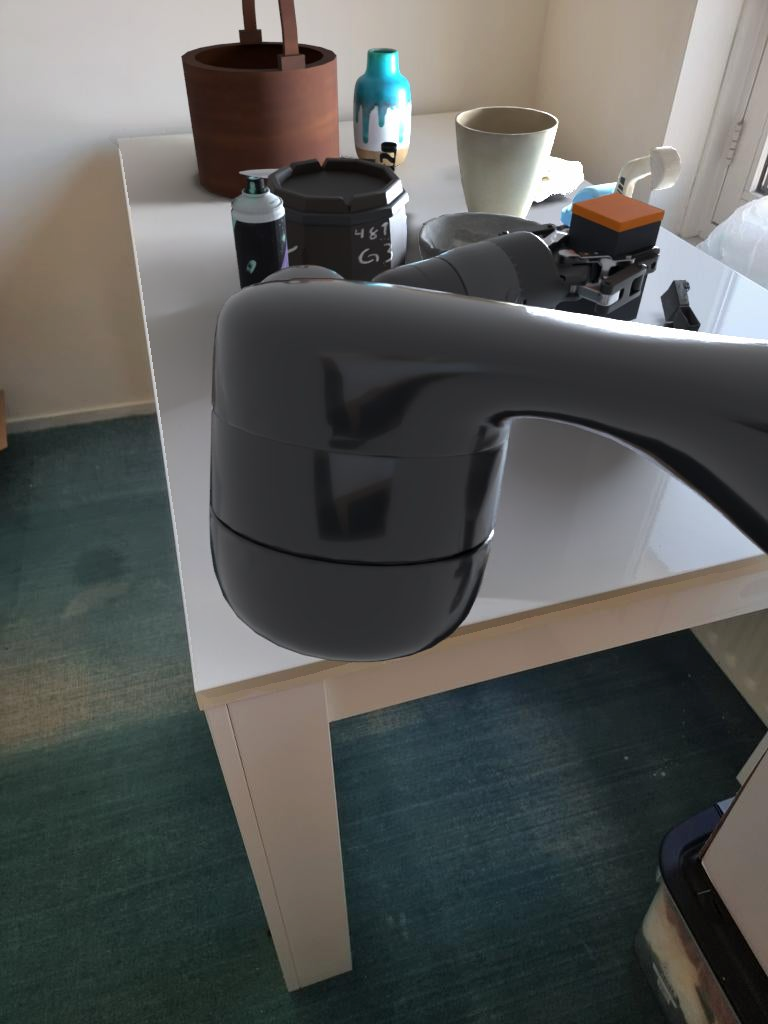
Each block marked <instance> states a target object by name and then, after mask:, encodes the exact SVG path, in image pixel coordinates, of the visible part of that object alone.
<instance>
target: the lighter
mask: <svg viewBox="0 0 768 1024" xmlns="http://www.w3.org/2000/svg"><path fill="white" fill-rule="evenodd" d="M690 290H691V286H690V283H689V281H687V279H673V280H672V282H671V283H670V285H669V286H668V288H667V290H665V291H664V292H663V294H662V295H660V296H659V297H660V302H661V307H662V311H663V316H664V320H665V323H672V324H673V329H678V330H684V331H692V332H699V330H700V328H701V325H702V323H701V322H700V320H699V318H698V317H697V315H696V313H695V312H694V310H693V309H692V307H691V306H690V300H689V295H688V293H689V291H690Z"/></svg>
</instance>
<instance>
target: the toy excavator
mask: <svg viewBox="0 0 768 1024" xmlns="http://www.w3.org/2000/svg"><path fill="white" fill-rule="evenodd" d="M681 172H682V160H681V156H680V153H679V151H678V150H677V149H676V148H675V147H674V146H671V145H665V146H658V147H654V148H653V147H652V148H650V149H649V154H648V155H645V156H641V157H639V158H635V159H632V160H629V161H627V162H626V163H625V164H623V166H622V168H621V170H620V172H619V175H618V177H617V181H616V182H610V183H602V184H597V185H590V186H585V187H583V188H581V189H580V190H579V191H578V192H577V193H576V194H575V196H574V197H573V199H572V202H571V203H570V204H568V205H567V206H565V207H564V208H562V210H561V213H560V218H559V221H560V223H562V224H561V225H556V226H557V229H556V231H562V230H563V229H566V228H570V222H571V217H572V207H573V203H577V202H581V201H585V200H589V199H593V198H597V197H601V196H605V195H609V194H613V193H620V194H622V195H625V196H627V197H630V198H633V194H634V189H635V185H636V183H637V182H638V181H640V180H642V179H643V178H645V177H648V176H650V179H651V180H650V184H651V185H650V191H651V192H654V191H660V190H661V191H662V190H666V189H670V188H672V187H673V186H675V185H676V183H677V182H678V181H679V178H680V176H681Z"/></svg>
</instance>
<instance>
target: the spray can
mask: <svg viewBox="0 0 768 1024" xmlns="http://www.w3.org/2000/svg"><path fill="white" fill-rule="evenodd" d="M246 183H247V185H246V186H245V188H244V189H243V190H242V194H241V195H240V196H238V197H237V198H233V199H232V200H231V202H230V206H231V210H230V215H231V223H232V232H233V240H234V241H233V242H234V248H235V257H236V264H237V271H238V279H239V280H238V281H239V288H240V289H239V290H241V289H242V288H244V287H247V286H250V285H253V284H256V283H260V282H262V281H263V280H264V279H265V278H266V277H268V276H269V275H271V274H272V273H274V272H276V271H278V270H280V269H283V268H286V267H289V263H288V250H287V237H286V223H285V210H284V207H283V200H282V199H281V198H280V197H278V196H275V195H274V194H272V193H270V189H269V188H267V187H266V185H264V180H263V177H260V178H257V177H251V176H248V177H246Z"/></svg>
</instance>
